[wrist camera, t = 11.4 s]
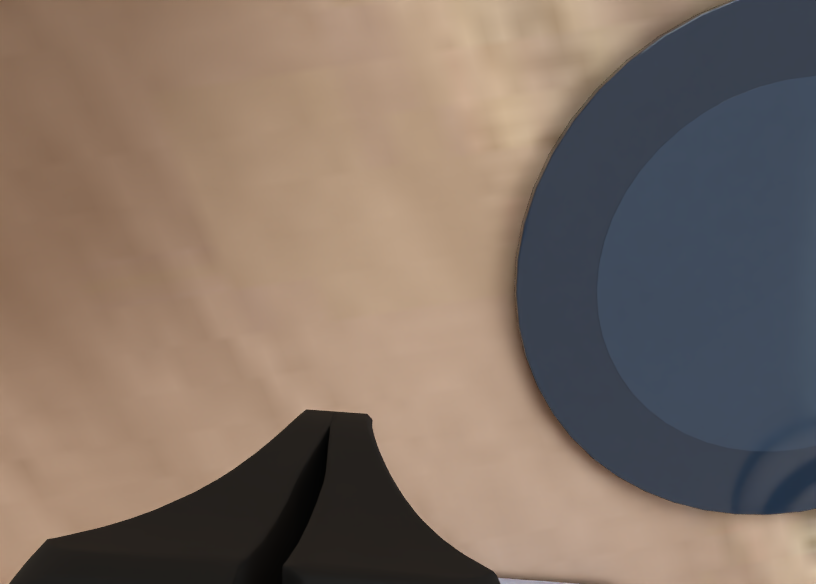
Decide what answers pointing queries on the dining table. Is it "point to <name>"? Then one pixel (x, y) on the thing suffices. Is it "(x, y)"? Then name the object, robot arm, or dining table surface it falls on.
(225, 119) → the dining table surface
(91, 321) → the dining table surface
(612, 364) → the plate
